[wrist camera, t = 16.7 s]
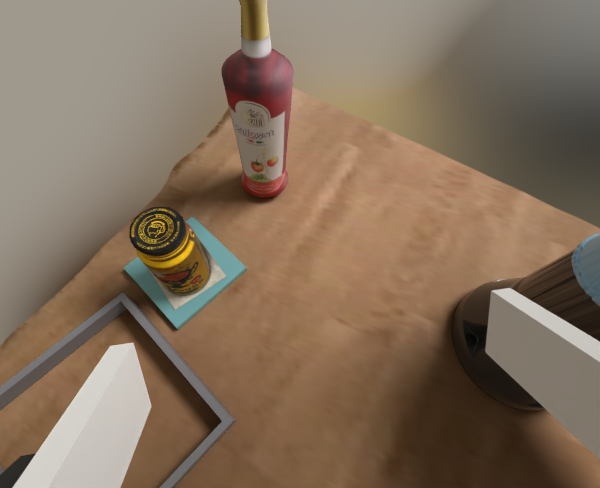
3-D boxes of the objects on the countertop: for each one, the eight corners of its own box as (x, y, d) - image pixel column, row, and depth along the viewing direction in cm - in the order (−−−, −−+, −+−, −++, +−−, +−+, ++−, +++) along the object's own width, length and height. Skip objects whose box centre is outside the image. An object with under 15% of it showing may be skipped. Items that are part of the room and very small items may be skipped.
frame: (131, 298, 42) (122, 291, 40) (236, 420, 37) (233, 420, 35) (-33, 427, 35) (-54, 428, 33) (67, 603, 30) (49, 617, 28)
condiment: (175, 310, 41) (138, 273, 30) (143, 259, 44) (98, 209, 33) (226, 276, 43) (209, 230, 33) (192, 230, 46) (166, 174, 36)
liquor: (293, 169, 53) (305, -51, 28) (283, 208, 50) (286, -4, 25) (248, 160, 53) (219, -65, 28) (235, 198, 50) (189, -20, 25)
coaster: (193, 219, 48) (192, 216, 47) (246, 269, 45) (246, 267, 44) (125, 270, 44) (123, 267, 43) (178, 329, 41) (176, 328, 40)
